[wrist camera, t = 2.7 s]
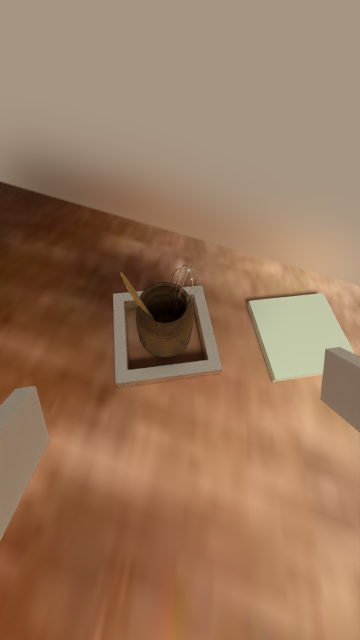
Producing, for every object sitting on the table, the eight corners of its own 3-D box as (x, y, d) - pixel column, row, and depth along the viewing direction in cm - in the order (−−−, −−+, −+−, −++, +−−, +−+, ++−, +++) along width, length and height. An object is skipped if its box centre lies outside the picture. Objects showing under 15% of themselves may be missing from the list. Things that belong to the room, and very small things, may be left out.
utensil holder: (199, 347, 29) (217, 284, 19) (147, 368, 28) (136, 311, 17) (178, 307, 32) (184, 231, 21) (130, 324, 30) (111, 251, 20)
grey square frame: (118, 388, 26) (115, 383, 25) (115, 302, 31) (113, 293, 30) (218, 374, 28) (222, 369, 26) (200, 293, 33) (202, 285, 31)
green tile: (272, 381, 27) (275, 379, 27) (246, 305, 32) (248, 300, 31) (355, 370, 29) (361, 367, 28) (319, 297, 33) (323, 293, 33)
